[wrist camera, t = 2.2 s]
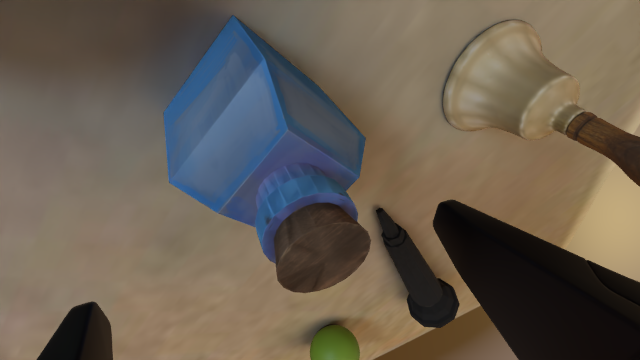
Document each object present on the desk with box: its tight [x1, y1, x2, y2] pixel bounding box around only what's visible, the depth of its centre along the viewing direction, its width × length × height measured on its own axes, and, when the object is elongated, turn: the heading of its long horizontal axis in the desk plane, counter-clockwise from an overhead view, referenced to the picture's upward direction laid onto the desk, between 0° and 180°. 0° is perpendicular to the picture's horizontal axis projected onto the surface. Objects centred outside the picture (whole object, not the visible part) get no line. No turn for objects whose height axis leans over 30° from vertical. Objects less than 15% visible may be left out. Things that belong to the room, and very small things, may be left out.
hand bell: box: [443, 20, 640, 186], centre depth 20 cm, size 8×8×16 cm
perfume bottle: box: [164, 15, 371, 293], centre depth 15 cm, size 6×6×12 cm
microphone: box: [376, 208, 459, 328], centre depth 35 cm, size 6×6×20 cm
